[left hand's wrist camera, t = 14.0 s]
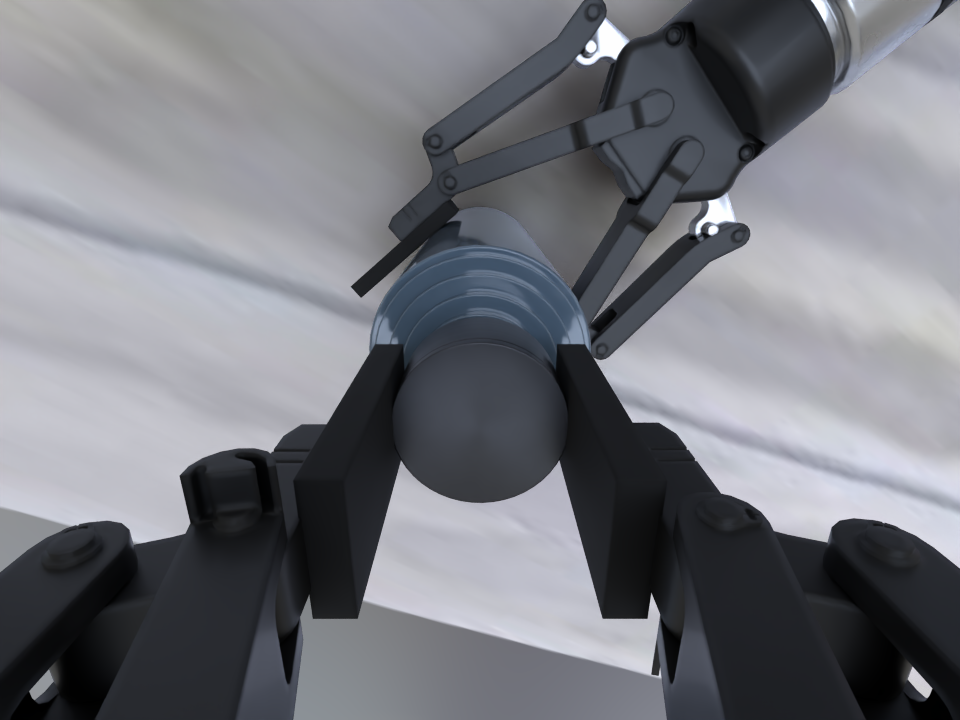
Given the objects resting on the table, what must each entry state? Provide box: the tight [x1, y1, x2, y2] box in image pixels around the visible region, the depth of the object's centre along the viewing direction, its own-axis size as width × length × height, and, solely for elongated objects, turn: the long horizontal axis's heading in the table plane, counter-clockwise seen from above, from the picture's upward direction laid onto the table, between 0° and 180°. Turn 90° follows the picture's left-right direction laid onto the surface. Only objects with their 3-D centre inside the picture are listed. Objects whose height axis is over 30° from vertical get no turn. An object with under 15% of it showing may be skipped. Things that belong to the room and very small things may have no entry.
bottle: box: [369, 207, 591, 371], centre depth 23 cm, size 7×7×22 cm
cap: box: [392, 317, 568, 503], centre depth 13 cm, size 4×4×2 cm
